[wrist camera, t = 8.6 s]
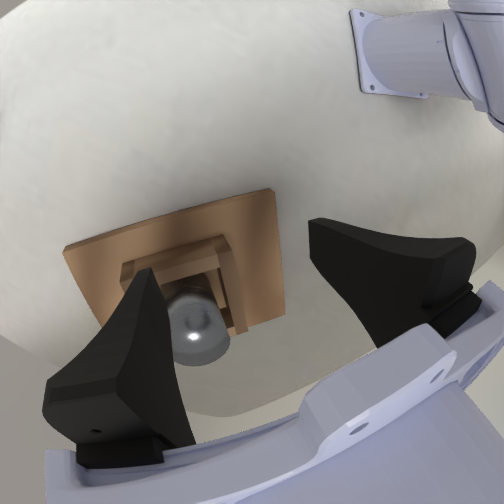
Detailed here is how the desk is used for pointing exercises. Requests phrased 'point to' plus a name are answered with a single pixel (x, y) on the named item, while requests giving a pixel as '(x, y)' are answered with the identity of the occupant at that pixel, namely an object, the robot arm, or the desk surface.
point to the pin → (195, 321)
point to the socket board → (192, 258)
